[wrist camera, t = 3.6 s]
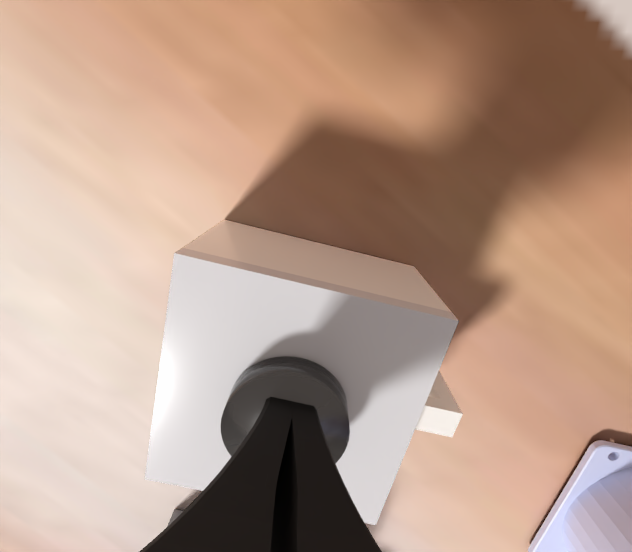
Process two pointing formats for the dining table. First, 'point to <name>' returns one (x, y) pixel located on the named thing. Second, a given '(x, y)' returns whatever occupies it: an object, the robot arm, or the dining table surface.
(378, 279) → the press white
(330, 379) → the doorknob dark gray
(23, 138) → the dining table surface
